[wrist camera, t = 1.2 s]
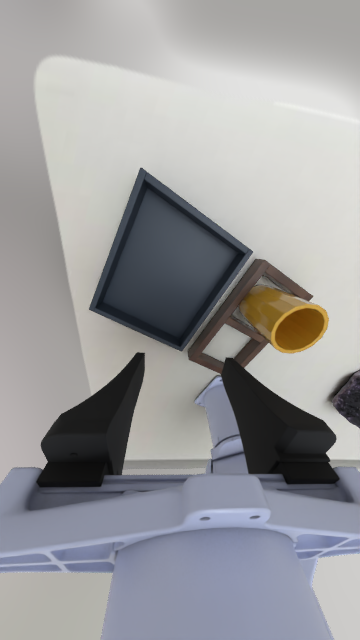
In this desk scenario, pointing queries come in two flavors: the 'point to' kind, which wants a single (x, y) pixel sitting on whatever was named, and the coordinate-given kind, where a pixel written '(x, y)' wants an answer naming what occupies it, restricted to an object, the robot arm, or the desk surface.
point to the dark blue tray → (166, 265)
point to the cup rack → (225, 316)
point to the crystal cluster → (349, 400)
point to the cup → (284, 318)
